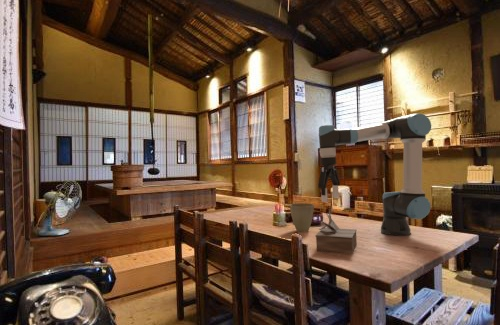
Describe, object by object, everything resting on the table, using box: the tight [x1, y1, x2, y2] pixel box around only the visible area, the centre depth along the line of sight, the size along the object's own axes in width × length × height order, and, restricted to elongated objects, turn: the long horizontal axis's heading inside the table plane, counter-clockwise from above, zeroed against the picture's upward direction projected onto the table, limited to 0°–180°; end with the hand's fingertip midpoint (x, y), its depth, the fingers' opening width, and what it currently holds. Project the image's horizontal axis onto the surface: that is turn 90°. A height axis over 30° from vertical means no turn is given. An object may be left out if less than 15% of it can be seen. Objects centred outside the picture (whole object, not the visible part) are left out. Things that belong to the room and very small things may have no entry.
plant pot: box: [289, 202, 315, 233], centre depth 181 cm, size 15×15×16 cm
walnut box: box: [315, 227, 358, 256], centre depth 142 cm, size 16×16×8 cm
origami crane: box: [318, 209, 341, 233], centre depth 145 cm, size 11×10×10 cm
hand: (330, 200), depth 144 cm, fingers open, 13 cm apart
